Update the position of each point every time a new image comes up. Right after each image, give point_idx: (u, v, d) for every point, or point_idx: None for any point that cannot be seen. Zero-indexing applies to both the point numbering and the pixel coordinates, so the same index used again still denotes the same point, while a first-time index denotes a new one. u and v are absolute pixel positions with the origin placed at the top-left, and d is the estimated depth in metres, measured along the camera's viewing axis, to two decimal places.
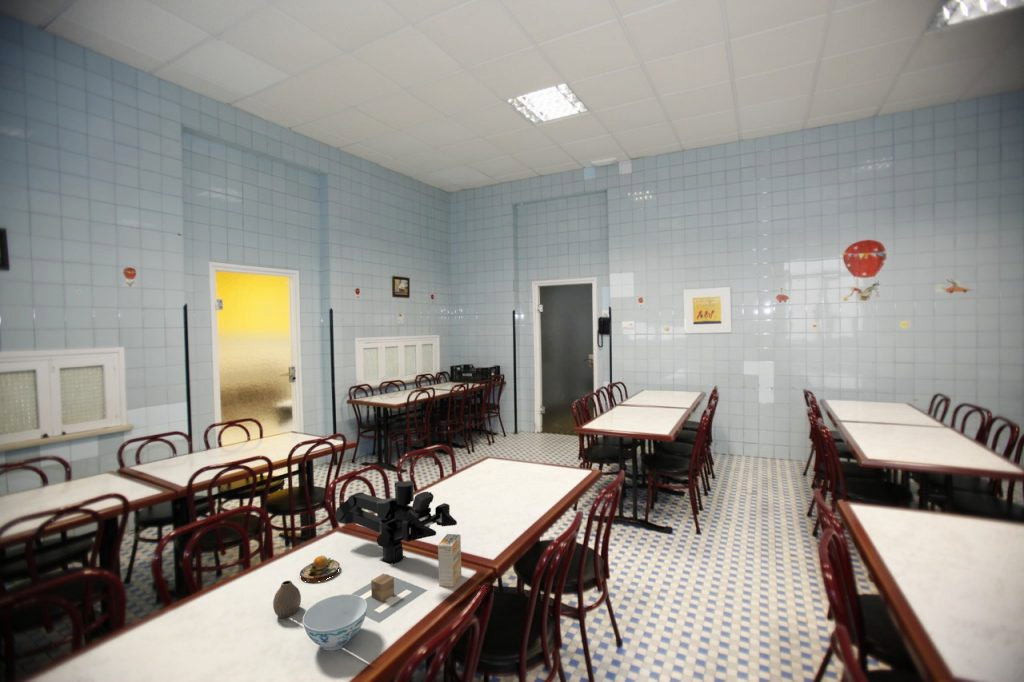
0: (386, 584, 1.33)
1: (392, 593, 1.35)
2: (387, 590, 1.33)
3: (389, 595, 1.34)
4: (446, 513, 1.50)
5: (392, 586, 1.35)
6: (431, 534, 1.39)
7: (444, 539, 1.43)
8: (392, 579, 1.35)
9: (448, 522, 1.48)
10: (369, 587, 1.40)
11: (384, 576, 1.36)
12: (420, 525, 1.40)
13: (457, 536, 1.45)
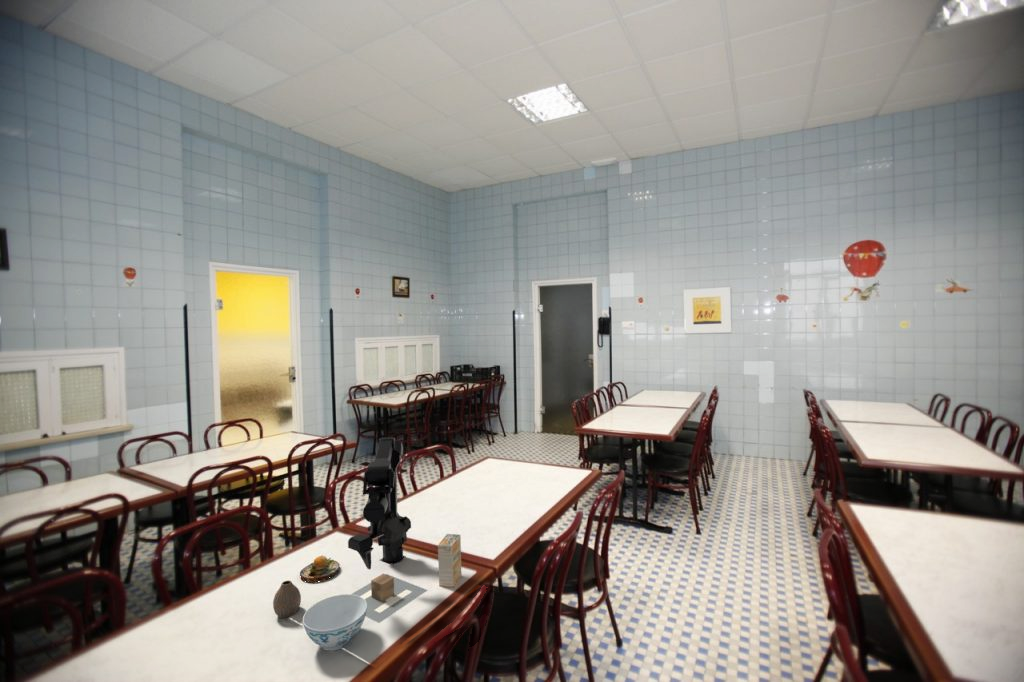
0: (386, 584, 1.33)
1: (392, 593, 1.35)
2: (387, 590, 1.33)
3: (389, 595, 1.34)
4: (399, 538, 1.38)
5: (392, 586, 1.35)
6: (366, 564, 1.31)
7: (444, 539, 1.43)
8: (392, 579, 1.35)
9: (392, 543, 1.39)
10: (369, 587, 1.40)
11: (384, 576, 1.36)
12: (368, 554, 1.29)
13: (457, 536, 1.45)
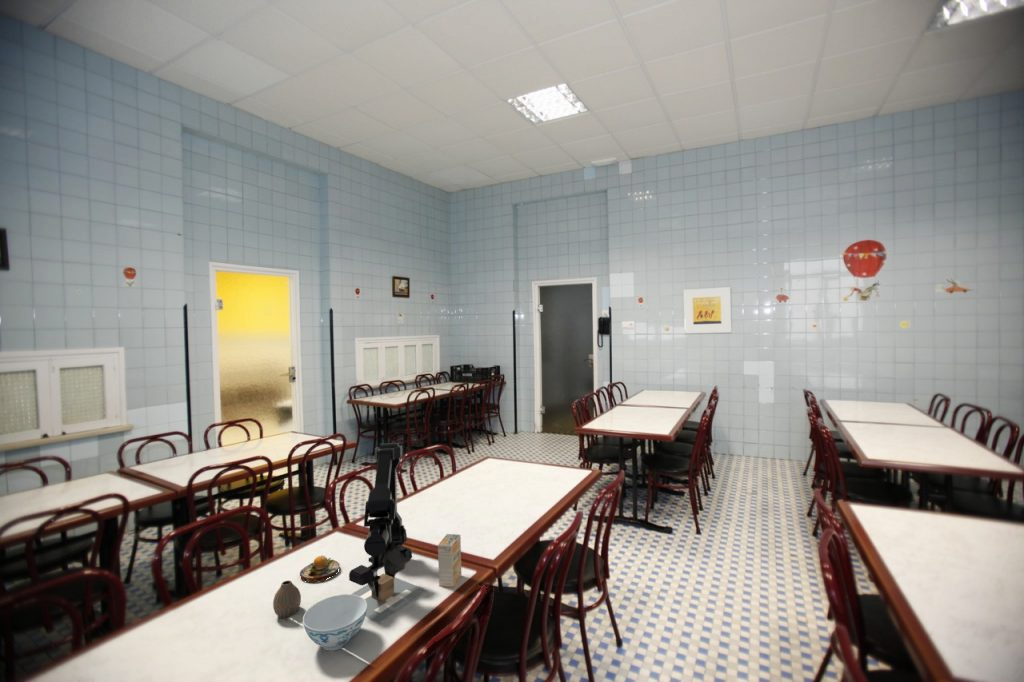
0: (386, 584, 1.33)
1: (392, 593, 1.35)
2: (387, 590, 1.33)
3: (389, 595, 1.34)
4: None
5: (392, 586, 1.35)
6: (373, 593, 1.32)
7: (444, 539, 1.43)
8: (392, 579, 1.35)
9: None
10: (369, 587, 1.40)
11: (384, 576, 1.36)
12: (375, 582, 1.31)
13: (457, 536, 1.45)
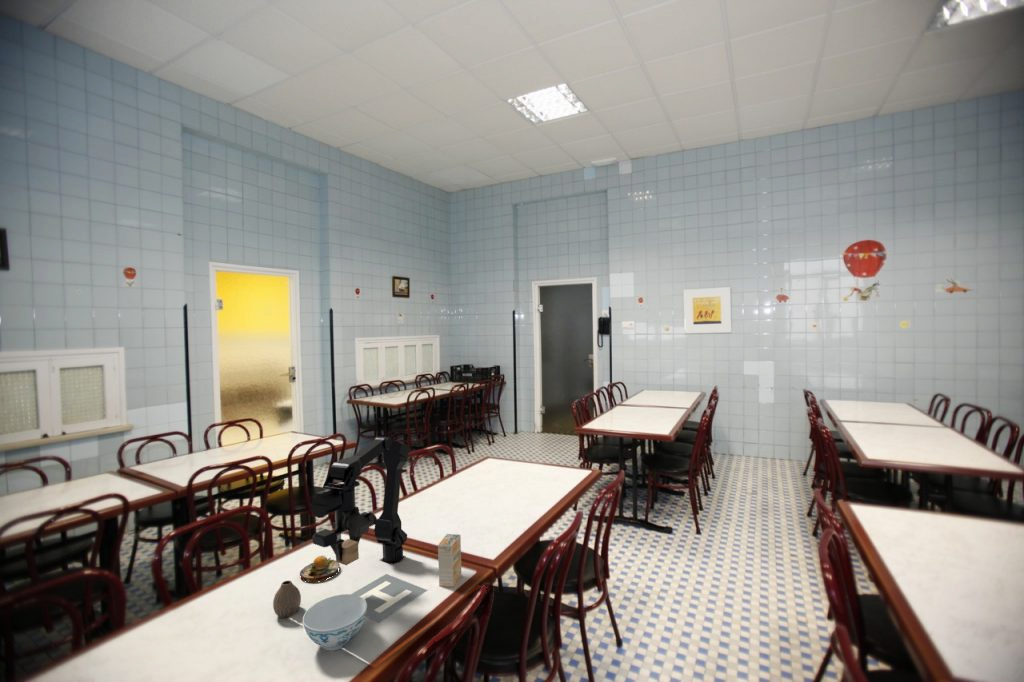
0: (351, 548, 1.36)
1: (356, 557, 1.37)
2: (351, 554, 1.36)
3: (353, 559, 1.36)
4: (359, 536, 1.39)
5: (356, 550, 1.37)
6: (337, 556, 1.35)
7: (444, 539, 1.43)
8: (356, 543, 1.37)
9: None
10: (369, 587, 1.40)
11: (349, 541, 1.38)
12: (339, 546, 1.33)
13: (457, 536, 1.45)
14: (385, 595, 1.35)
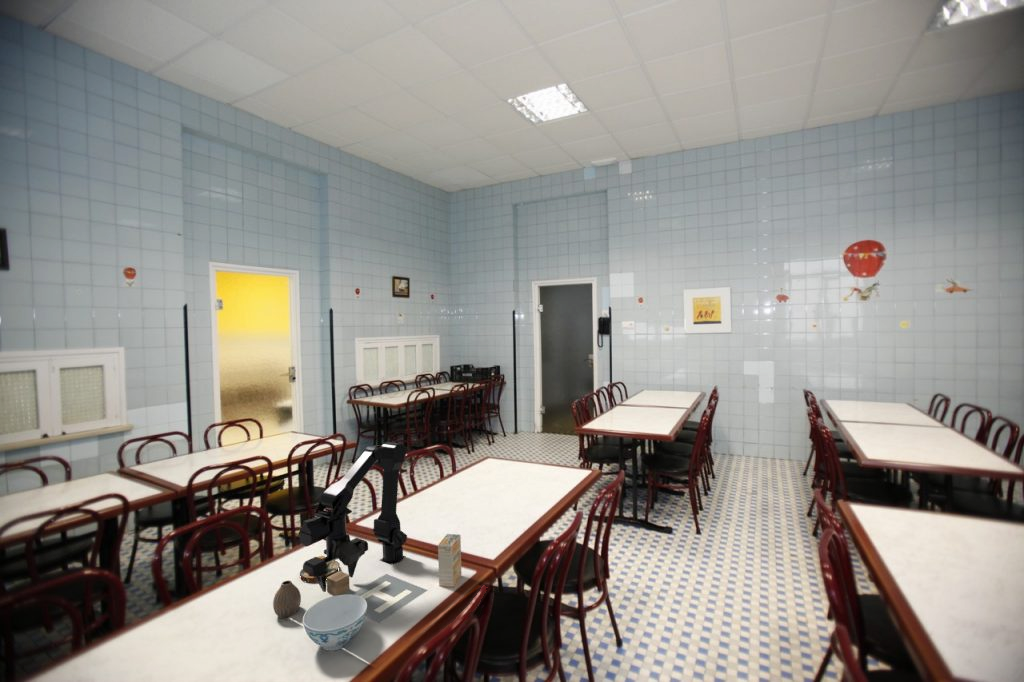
0: (341, 581, 1.37)
1: None
2: (341, 587, 1.37)
3: None
4: None
5: (347, 583, 1.39)
6: (321, 587, 1.34)
7: (444, 539, 1.43)
8: (347, 576, 1.39)
9: (349, 565, 1.43)
10: (369, 587, 1.40)
11: (340, 574, 1.39)
12: (322, 577, 1.33)
13: (457, 536, 1.45)
14: (385, 595, 1.35)
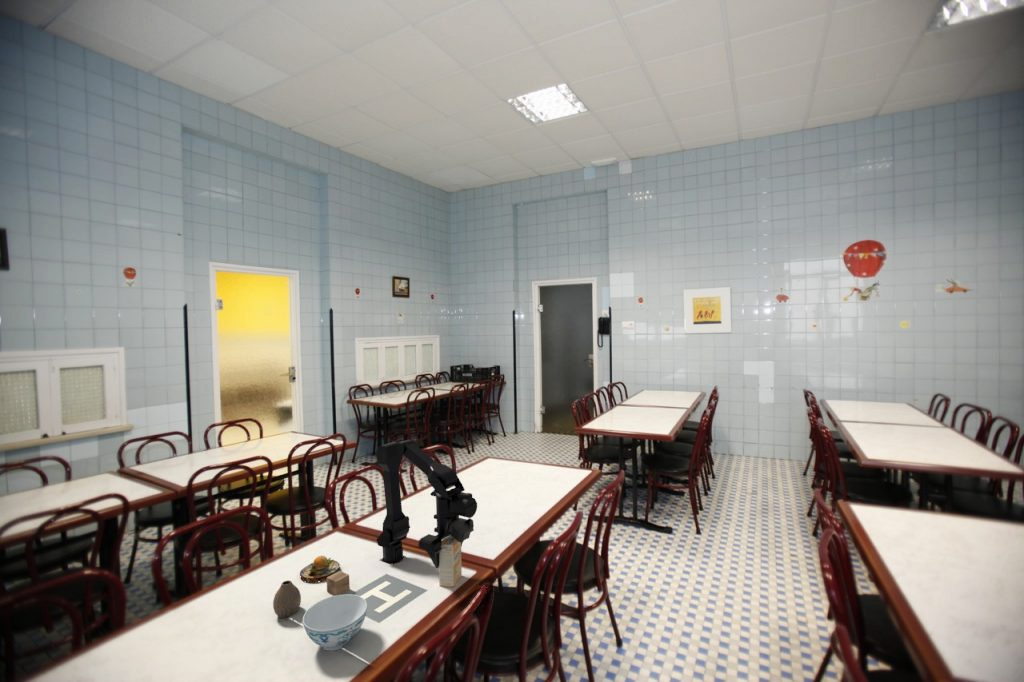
0: (341, 581, 1.37)
1: None
2: (341, 587, 1.37)
3: None
4: None
5: (347, 583, 1.39)
6: (434, 564, 1.39)
7: (445, 539, 1.43)
8: (347, 576, 1.39)
9: None
10: (369, 587, 1.40)
11: (340, 574, 1.39)
12: (437, 553, 1.37)
13: None
14: (385, 595, 1.35)
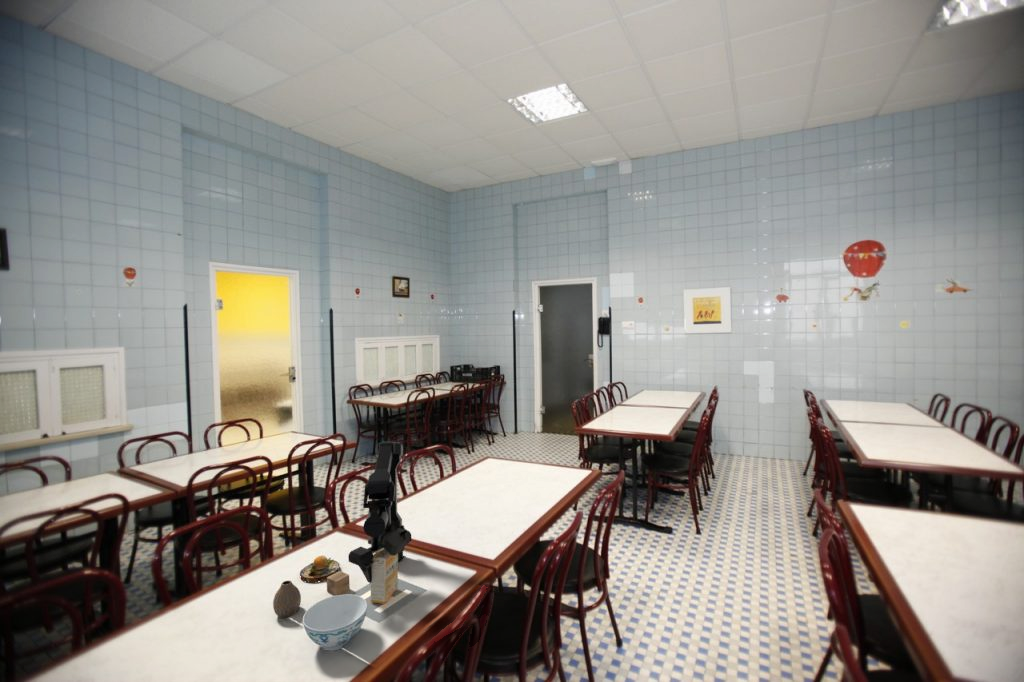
0: (341, 581, 1.37)
1: None
2: (341, 587, 1.37)
3: None
4: None
5: (347, 583, 1.39)
6: (366, 578, 1.31)
7: (379, 551, 1.34)
8: (347, 576, 1.39)
9: None
10: (369, 587, 1.40)
11: (340, 574, 1.39)
12: (368, 567, 1.29)
13: None
14: None
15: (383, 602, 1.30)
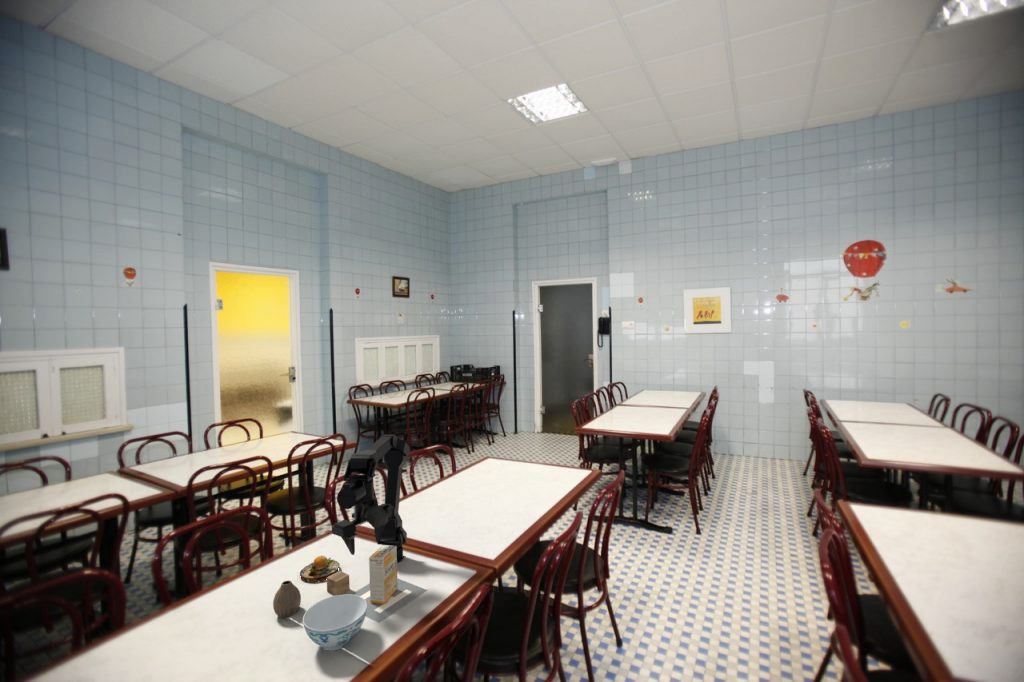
0: (341, 581, 1.37)
1: None
2: (341, 587, 1.37)
3: None
4: (383, 525, 1.42)
5: (347, 583, 1.39)
6: (350, 550, 1.34)
7: (378, 551, 1.35)
8: (347, 576, 1.39)
9: (376, 530, 1.43)
10: (369, 587, 1.40)
11: (340, 574, 1.39)
12: (351, 539, 1.33)
13: (392, 547, 1.37)
14: None
15: (383, 602, 1.30)
